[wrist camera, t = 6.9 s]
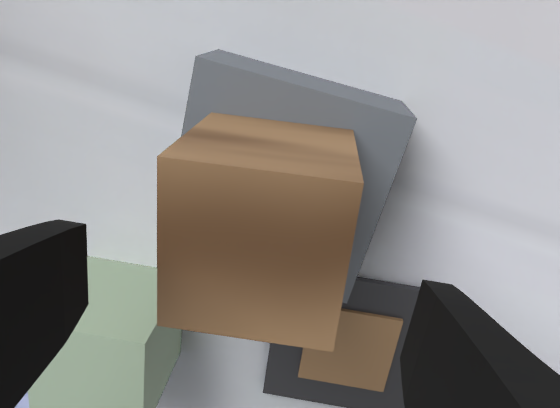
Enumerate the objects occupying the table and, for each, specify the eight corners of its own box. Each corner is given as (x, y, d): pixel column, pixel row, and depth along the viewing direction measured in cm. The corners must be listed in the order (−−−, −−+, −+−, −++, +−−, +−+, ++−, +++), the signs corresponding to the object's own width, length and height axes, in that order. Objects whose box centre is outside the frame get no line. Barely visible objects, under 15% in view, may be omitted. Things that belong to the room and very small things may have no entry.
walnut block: (332, 256, 16) (332, 351, 12) (205, 238, 16) (156, 325, 12) (353, 130, 15) (363, 183, 10) (211, 112, 15) (157, 156, 10)
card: (406, 413, 23) (407, 421, 22) (263, 388, 23) (262, 395, 22) (445, 291, 20) (447, 298, 19) (282, 264, 20) (281, 270, 20)
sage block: (180, 351, 23) (142, 437, 18) (90, 335, 23) (30, 416, 18) (185, 271, 21) (144, 344, 16) (88, 255, 21) (21, 322, 16)
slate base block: (343, 257, 20) (346, 303, 17) (187, 213, 20) (160, 251, 17) (400, 99, 17) (417, 118, 14) (220, 48, 17) (195, 56, 14)
